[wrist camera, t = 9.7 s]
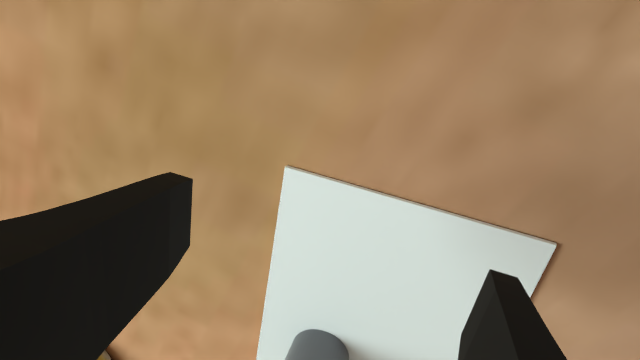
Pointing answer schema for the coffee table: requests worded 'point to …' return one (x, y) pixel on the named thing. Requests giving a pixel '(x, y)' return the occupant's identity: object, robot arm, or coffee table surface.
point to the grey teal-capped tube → (317, 346)
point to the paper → (382, 270)
